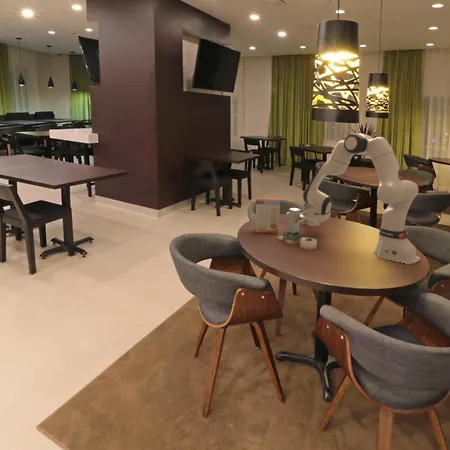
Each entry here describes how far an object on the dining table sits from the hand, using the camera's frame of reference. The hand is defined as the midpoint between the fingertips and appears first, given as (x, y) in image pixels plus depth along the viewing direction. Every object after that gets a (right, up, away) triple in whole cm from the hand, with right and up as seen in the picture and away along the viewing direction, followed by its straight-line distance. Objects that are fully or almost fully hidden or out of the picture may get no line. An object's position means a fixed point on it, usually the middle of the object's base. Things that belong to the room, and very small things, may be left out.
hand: (292, 220), depth 238 cm
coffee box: (+18, -1, +39) cm, 43 cm away
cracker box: (-13, -7, +16) cm, 22 cm away
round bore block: (+7, -14, -7) cm, 17 cm away
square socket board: (0, -11, +4) cm, 12 cm away
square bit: (0, -7, +3) cm, 8 cm away
